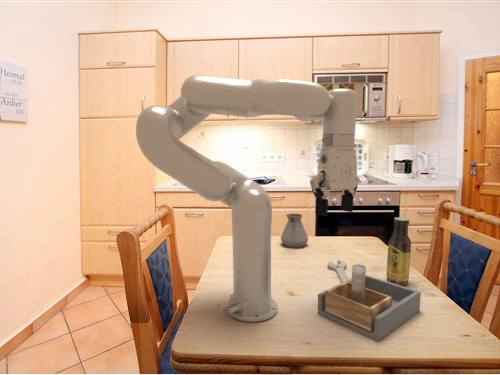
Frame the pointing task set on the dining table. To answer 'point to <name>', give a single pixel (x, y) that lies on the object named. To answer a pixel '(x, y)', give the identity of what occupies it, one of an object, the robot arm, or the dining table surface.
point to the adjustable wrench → (339, 270)
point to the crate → (357, 300)
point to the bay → (390, 319)
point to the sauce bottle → (399, 253)
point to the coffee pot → (294, 232)
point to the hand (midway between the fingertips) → (334, 212)
